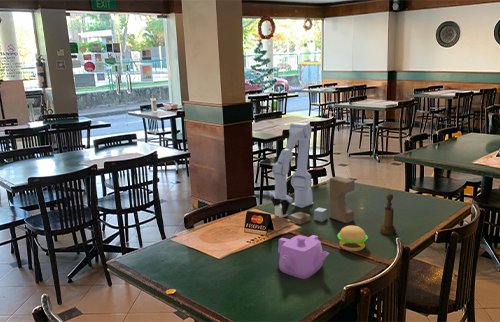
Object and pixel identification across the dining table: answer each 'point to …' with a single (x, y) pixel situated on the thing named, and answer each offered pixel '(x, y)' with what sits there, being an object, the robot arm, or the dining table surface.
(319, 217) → the slate block
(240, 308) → the dining table surface
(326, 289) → the dining table surface
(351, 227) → the hamburger
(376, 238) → the dining table surface
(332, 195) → the decorative block
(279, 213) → the cream block
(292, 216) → the walnut slab
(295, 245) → the teakettle
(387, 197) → the brown wooden tall piece
